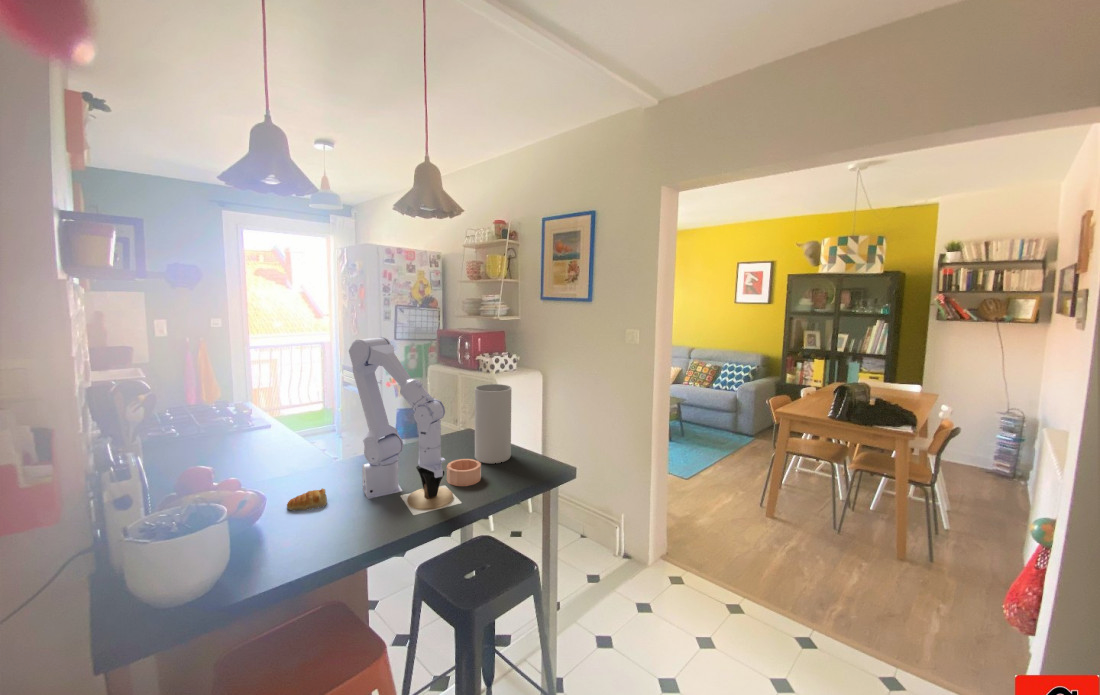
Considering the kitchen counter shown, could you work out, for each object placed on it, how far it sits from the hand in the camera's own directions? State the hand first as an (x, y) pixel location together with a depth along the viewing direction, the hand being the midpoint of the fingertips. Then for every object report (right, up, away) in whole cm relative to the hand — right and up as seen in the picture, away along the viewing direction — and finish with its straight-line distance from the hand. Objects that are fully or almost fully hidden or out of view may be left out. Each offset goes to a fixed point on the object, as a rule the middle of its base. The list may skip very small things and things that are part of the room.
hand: (430, 493), depth 119 cm
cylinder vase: (+13, +1, +34) cm, 36 cm away
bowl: (+6, -1, +14) cm, 15 cm away
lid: (0, -2, 0) cm, 2 cm away
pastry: (-31, -2, -3) cm, 31 cm away
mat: (0, -2, 0) cm, 2 cm away
